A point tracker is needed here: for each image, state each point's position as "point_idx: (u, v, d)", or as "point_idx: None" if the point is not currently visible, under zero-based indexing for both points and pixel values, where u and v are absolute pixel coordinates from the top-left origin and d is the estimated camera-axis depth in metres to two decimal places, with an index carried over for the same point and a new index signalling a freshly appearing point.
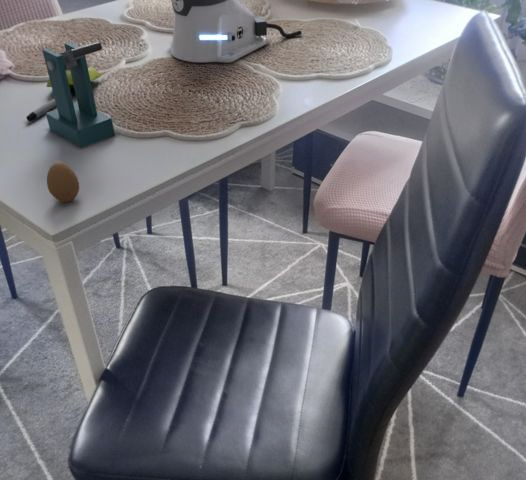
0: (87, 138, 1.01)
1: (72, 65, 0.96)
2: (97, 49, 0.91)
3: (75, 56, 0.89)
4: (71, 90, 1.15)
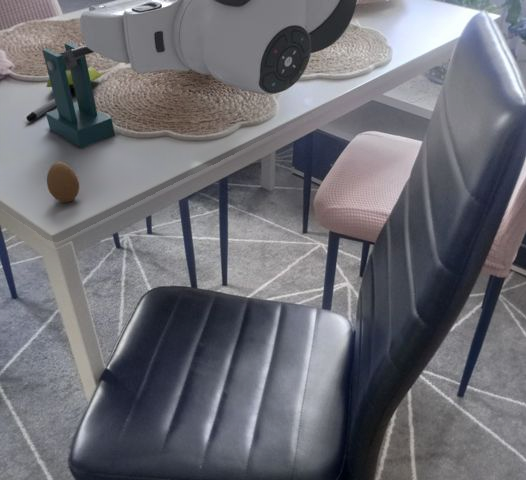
0: (87, 138, 1.01)
1: (72, 65, 0.96)
2: None
3: (75, 56, 0.89)
4: (71, 90, 1.15)
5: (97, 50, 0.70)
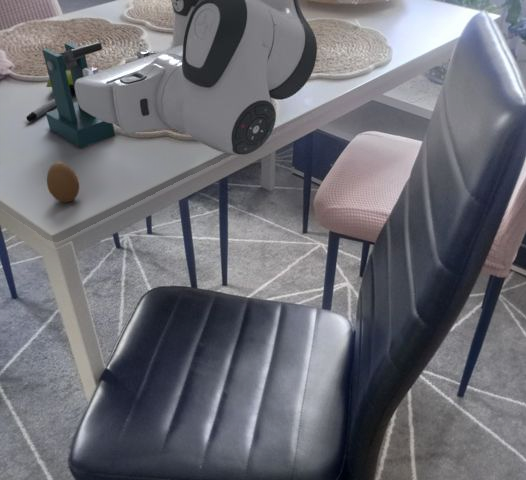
0: (87, 138, 1.01)
1: (72, 65, 0.96)
2: (97, 49, 0.91)
3: (75, 56, 0.89)
4: (71, 90, 1.15)
5: (90, 112, 0.79)
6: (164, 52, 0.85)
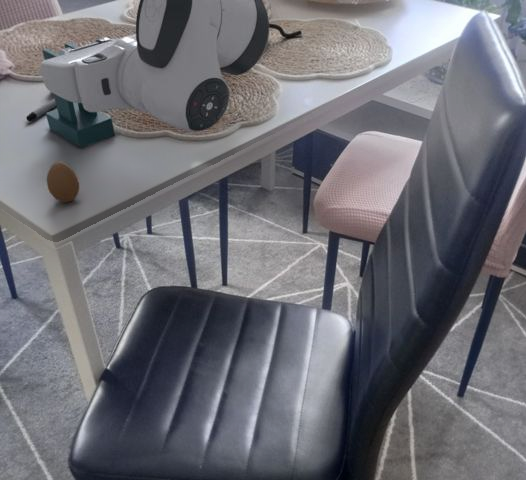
0: (87, 138, 1.01)
1: None
2: None
3: None
4: None
5: (55, 92, 0.83)
6: None
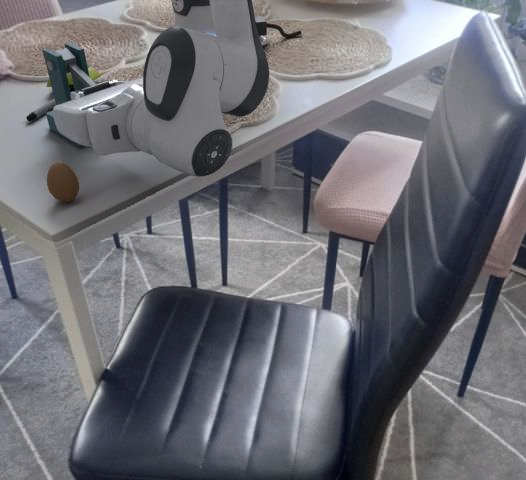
0: None
1: None
2: None
3: None
4: (71, 90, 1.15)
5: (66, 135, 0.88)
6: (136, 80, 0.94)
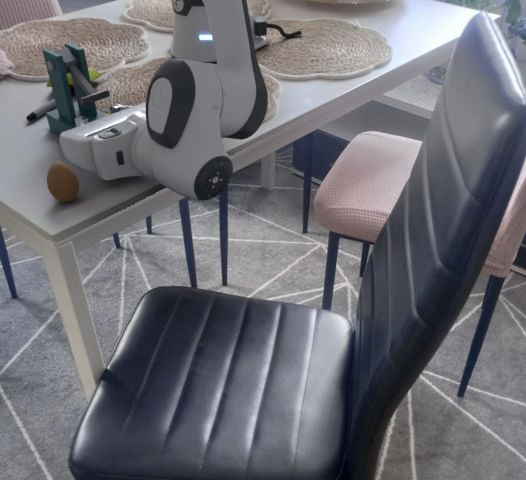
0: None
1: None
2: None
3: None
4: (71, 90, 1.15)
5: (73, 161, 0.91)
6: (140, 105, 0.97)
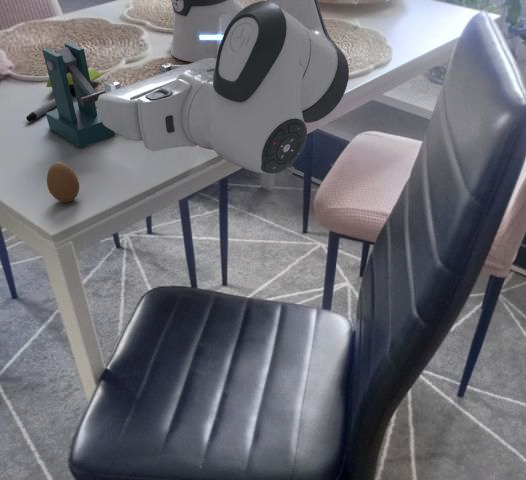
0: (87, 138, 1.01)
1: None
2: None
3: None
4: (71, 90, 1.15)
5: (113, 128, 0.77)
6: (187, 66, 0.83)
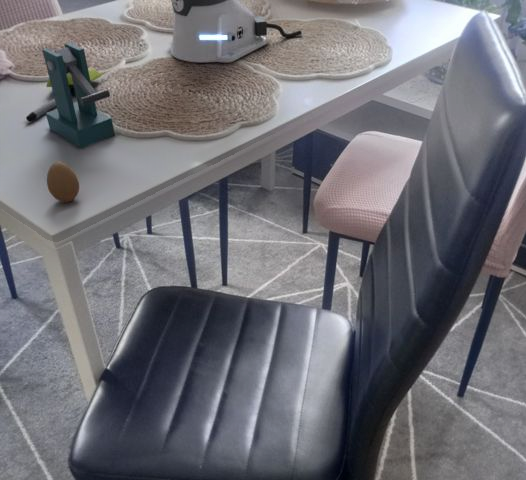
0: (87, 138, 1.01)
1: None
2: None
3: None
4: (71, 90, 1.15)
5: None
6: None
